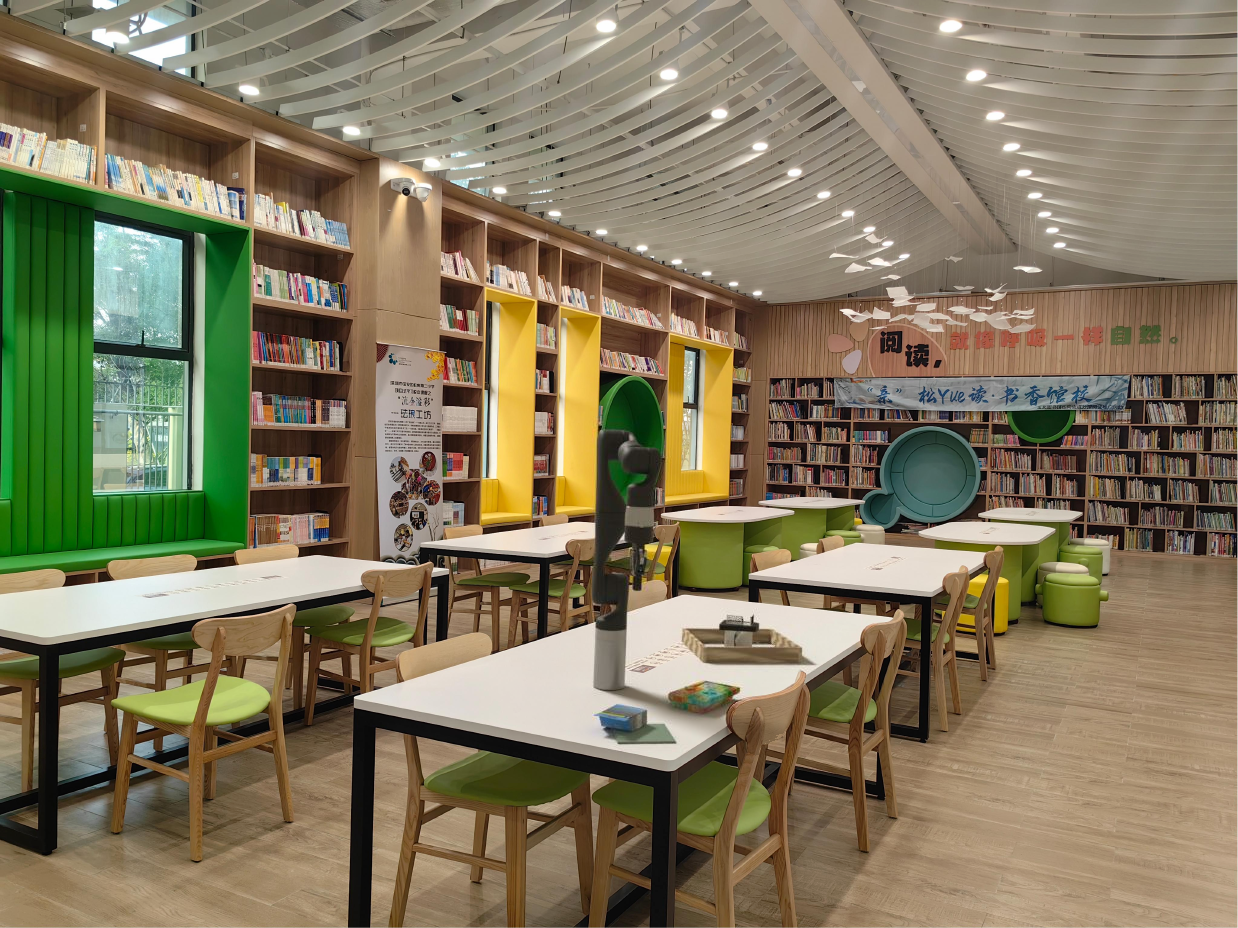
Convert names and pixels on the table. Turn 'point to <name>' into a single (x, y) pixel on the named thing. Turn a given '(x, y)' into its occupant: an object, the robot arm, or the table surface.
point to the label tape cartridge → (623, 717)
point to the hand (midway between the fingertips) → (636, 590)
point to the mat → (644, 735)
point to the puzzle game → (702, 696)
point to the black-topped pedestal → (738, 631)
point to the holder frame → (780, 653)
